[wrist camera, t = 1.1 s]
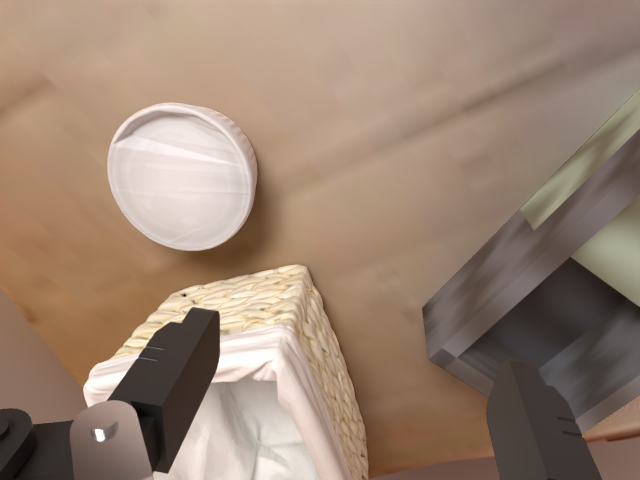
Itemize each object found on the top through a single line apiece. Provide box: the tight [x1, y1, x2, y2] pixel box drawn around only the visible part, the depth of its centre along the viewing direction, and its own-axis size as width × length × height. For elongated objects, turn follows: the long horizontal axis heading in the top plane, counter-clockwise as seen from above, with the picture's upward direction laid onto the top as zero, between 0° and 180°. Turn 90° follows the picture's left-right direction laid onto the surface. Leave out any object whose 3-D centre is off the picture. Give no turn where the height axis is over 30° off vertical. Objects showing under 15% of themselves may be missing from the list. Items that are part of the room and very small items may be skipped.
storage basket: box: [83, 265, 369, 480], centre depth 40 cm, size 24×16×15 cm
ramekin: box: [107, 103, 258, 251], centre depth 36 cm, size 11×11×5 cm
